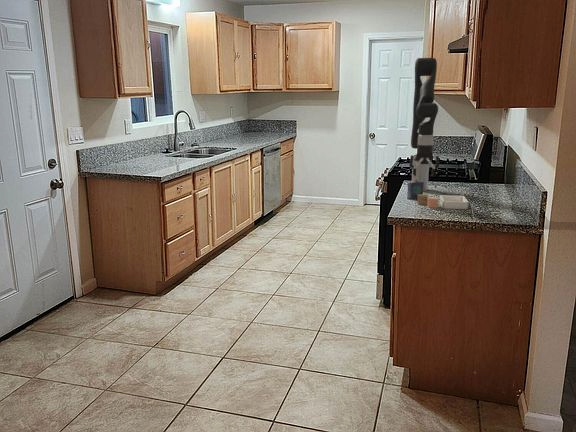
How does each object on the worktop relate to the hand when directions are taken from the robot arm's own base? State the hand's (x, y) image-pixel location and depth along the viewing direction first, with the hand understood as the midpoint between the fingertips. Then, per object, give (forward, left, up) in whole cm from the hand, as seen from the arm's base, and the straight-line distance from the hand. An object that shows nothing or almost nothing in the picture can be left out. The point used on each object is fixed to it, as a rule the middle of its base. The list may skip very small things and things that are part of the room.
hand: (423, 176), depth 255 cm
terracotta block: (+7, +5, -14) cm, 17 cm away
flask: (-13, -3, -15) cm, 20 cm away
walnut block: (0, 0, -14) cm, 14 cm away
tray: (+2, +15, -14) cm, 21 cm away
